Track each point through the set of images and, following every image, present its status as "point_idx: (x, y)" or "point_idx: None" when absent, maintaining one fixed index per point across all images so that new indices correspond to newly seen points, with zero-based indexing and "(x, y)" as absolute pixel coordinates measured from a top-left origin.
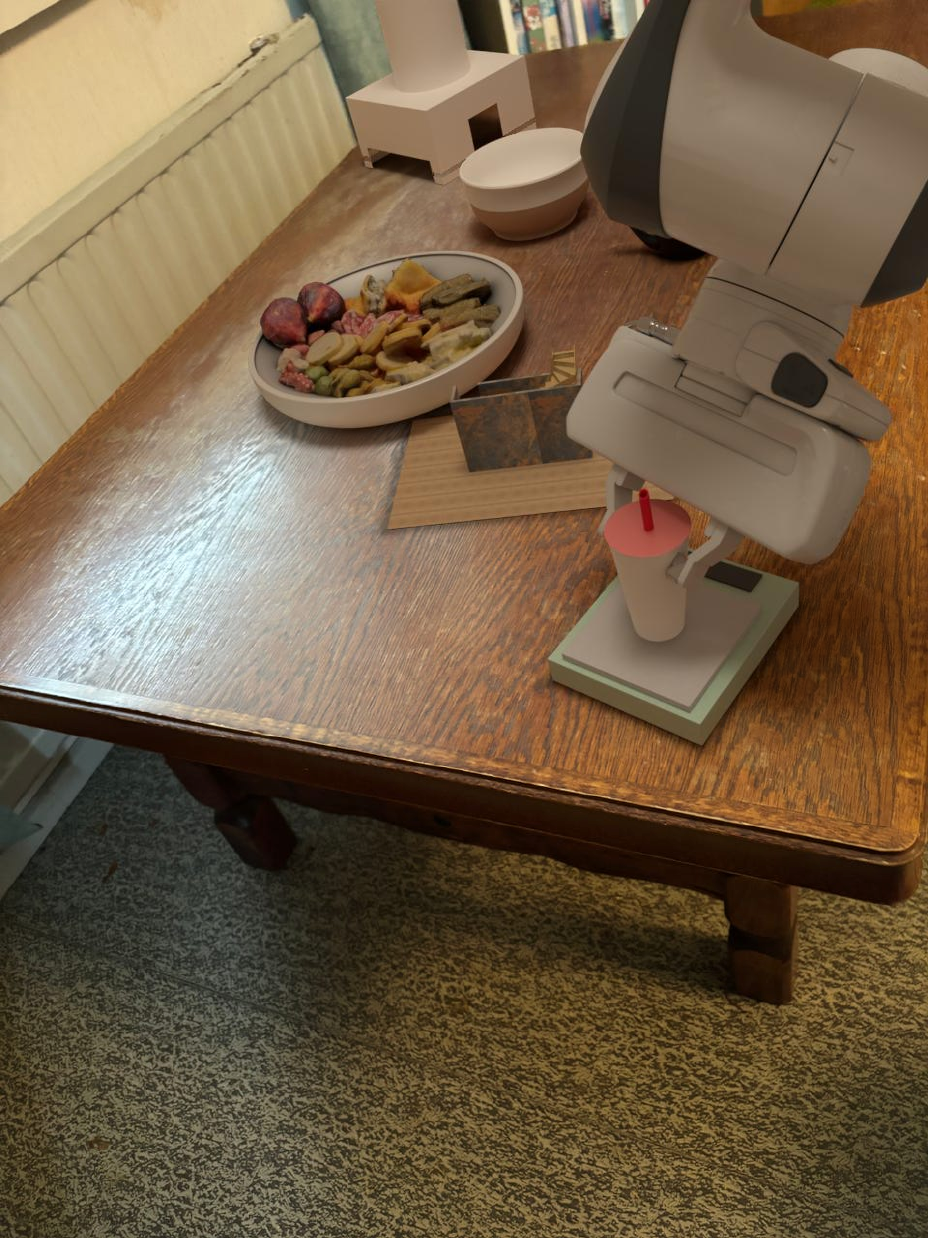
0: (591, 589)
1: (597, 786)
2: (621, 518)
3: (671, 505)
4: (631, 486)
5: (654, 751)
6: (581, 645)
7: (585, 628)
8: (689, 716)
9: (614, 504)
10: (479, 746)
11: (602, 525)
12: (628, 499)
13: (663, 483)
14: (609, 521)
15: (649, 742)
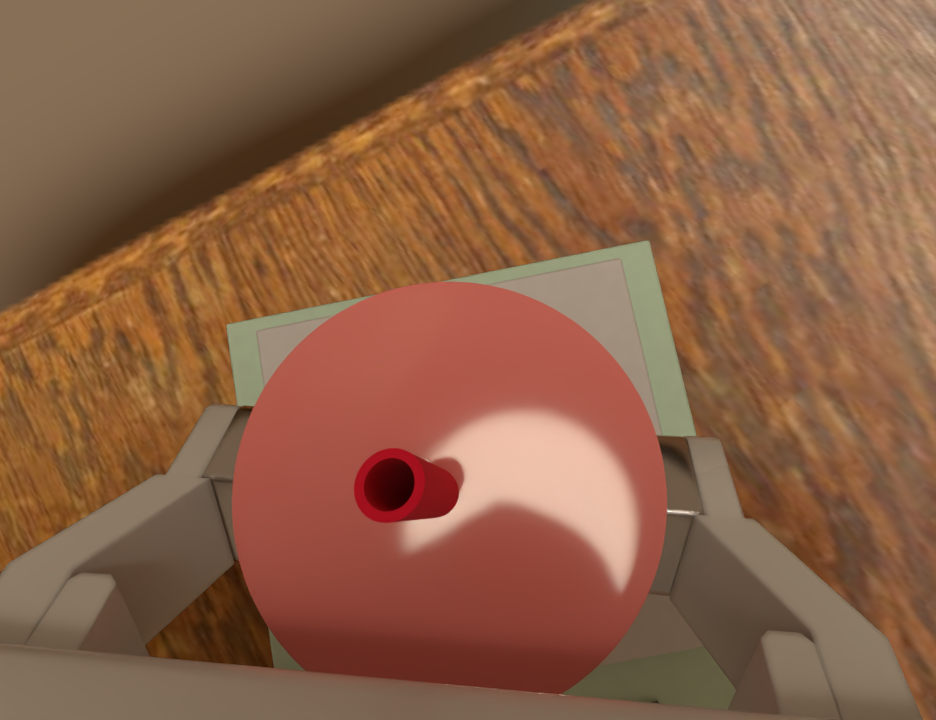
0: (789, 542)
1: (358, 137)
2: (598, 466)
3: None
4: (737, 695)
5: (324, 269)
6: (600, 309)
7: (636, 358)
8: (258, 326)
9: (724, 546)
10: (619, 45)
11: (712, 458)
12: (729, 654)
13: (420, 708)
14: (633, 415)
15: (347, 279)
